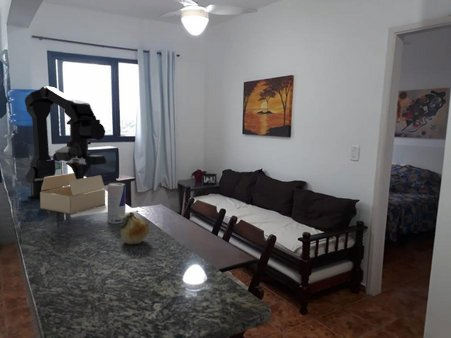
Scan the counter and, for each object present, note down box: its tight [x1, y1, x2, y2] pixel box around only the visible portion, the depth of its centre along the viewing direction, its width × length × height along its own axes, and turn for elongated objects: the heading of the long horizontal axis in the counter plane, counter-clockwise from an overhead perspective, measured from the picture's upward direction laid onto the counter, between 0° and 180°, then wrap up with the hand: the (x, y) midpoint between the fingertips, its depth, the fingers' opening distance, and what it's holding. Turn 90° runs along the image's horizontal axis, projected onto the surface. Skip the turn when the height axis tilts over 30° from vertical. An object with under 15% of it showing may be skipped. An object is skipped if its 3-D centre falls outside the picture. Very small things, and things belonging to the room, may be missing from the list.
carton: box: [39, 185, 106, 215], centre depth 119 cm, size 14×17×6 cm
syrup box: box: [49, 153, 64, 176], centre depth 155 cm, size 6×6×14 cm
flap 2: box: [69, 174, 105, 195], centre depth 117 cm, size 5×15×1 cm
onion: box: [118, 211, 151, 245], centre depth 87 cm, size 8×8×8 cm
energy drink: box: [107, 182, 127, 225], centre depth 104 cm, size 5×5×12 cm
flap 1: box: [41, 172, 76, 190], centre depth 121 cm, size 5×15×1 cm
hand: (79, 182), depth 118 cm, fingers closed
